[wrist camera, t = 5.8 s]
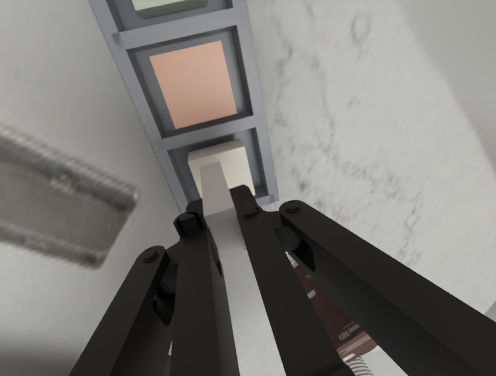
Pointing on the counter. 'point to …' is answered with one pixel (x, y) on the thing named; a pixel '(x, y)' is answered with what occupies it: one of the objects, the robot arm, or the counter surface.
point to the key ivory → (223, 163)
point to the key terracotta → (195, 84)
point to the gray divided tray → (152, 100)
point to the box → (336, 321)
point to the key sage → (164, 6)
